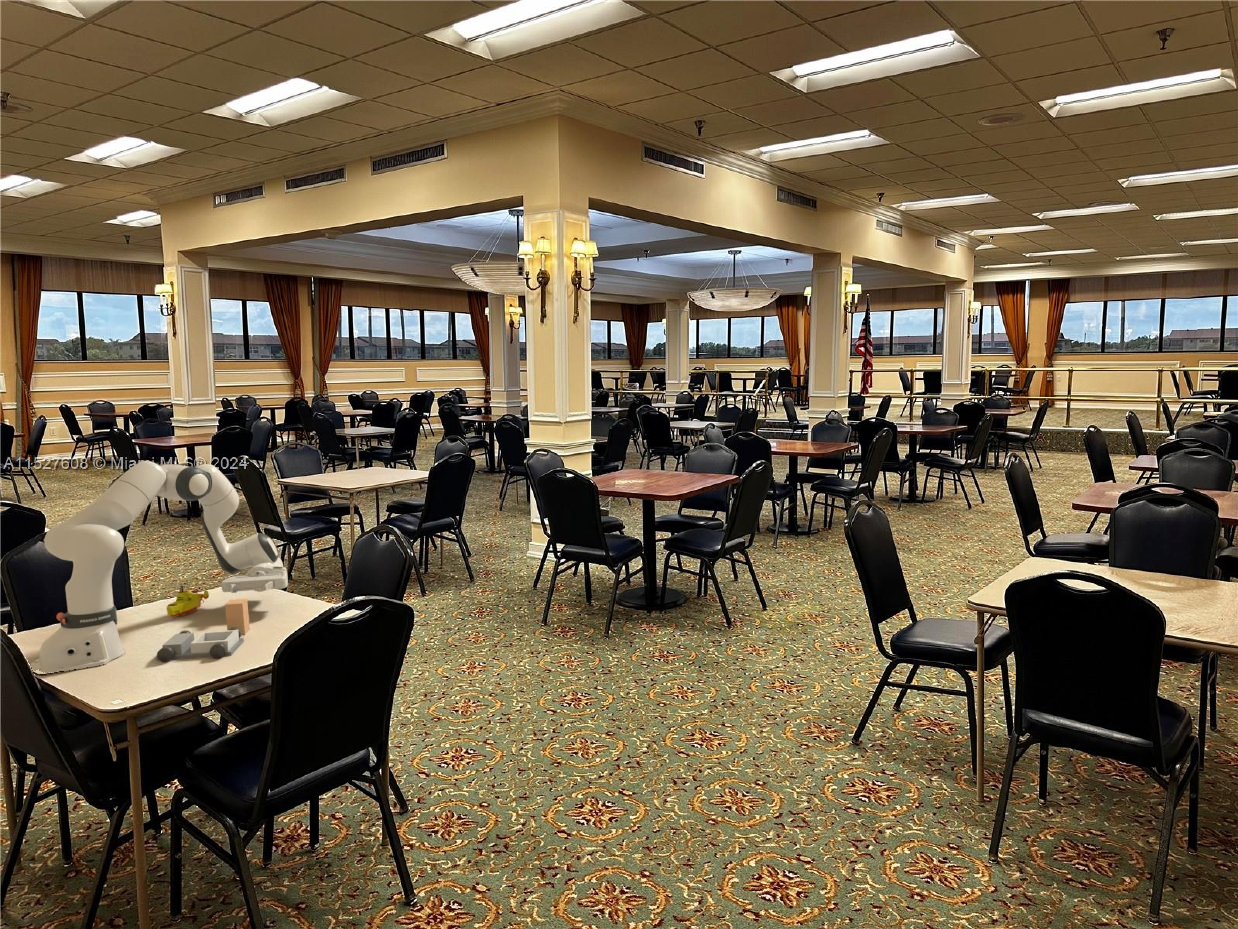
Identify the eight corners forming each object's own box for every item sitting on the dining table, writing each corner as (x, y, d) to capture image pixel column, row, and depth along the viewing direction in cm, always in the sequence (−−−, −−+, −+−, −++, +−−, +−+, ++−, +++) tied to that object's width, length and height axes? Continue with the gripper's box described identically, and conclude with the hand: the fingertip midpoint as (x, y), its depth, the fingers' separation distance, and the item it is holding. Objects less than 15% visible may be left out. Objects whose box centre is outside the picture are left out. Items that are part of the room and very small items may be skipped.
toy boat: (211, 605, 286) (208, 577, 285) (178, 622, 269) (175, 592, 267) (193, 605, 287) (191, 577, 286) (160, 622, 269) (157, 592, 268)
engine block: (227, 636, 253) (225, 604, 252) (233, 630, 258) (230, 599, 257) (245, 634, 254) (242, 603, 253) (249, 629, 259) (247, 598, 258)
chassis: (153, 663, 231) (152, 649, 231) (175, 644, 247) (174, 631, 246) (228, 657, 234) (227, 644, 234) (245, 639, 250) (244, 626, 249)
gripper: (227, 571, 279) (213, 582, 265) (290, 566, 282) (280, 577, 268) (229, 589, 280) (215, 601, 266) (292, 584, 282) (282, 596, 269)
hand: (248, 589), depth 267 cm, fingers open, 8 cm apart
